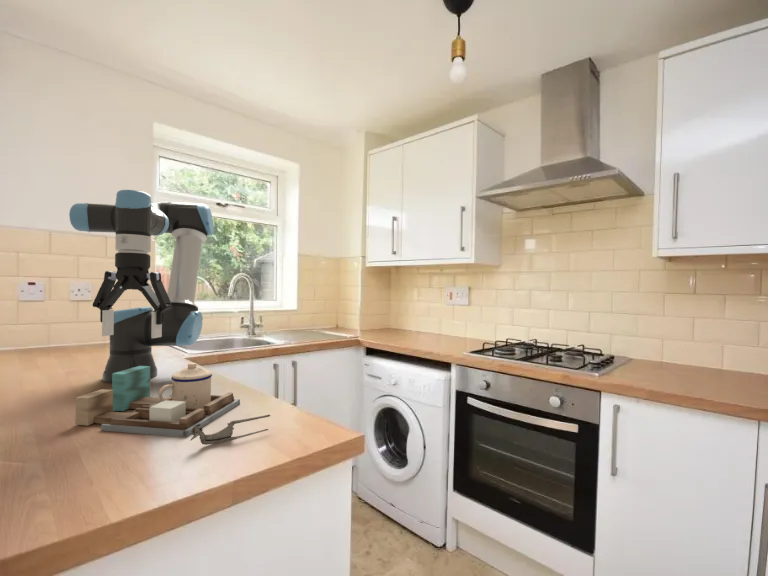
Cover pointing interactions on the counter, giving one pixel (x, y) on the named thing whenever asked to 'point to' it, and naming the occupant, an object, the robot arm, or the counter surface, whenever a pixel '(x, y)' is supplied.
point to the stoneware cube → (167, 411)
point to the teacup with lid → (190, 387)
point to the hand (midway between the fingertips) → (131, 336)
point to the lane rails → (169, 431)
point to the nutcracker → (221, 432)
